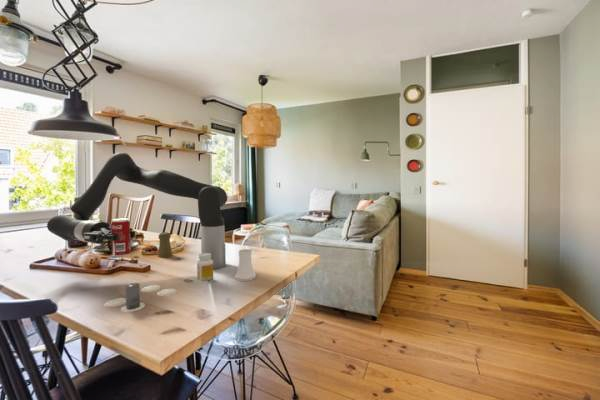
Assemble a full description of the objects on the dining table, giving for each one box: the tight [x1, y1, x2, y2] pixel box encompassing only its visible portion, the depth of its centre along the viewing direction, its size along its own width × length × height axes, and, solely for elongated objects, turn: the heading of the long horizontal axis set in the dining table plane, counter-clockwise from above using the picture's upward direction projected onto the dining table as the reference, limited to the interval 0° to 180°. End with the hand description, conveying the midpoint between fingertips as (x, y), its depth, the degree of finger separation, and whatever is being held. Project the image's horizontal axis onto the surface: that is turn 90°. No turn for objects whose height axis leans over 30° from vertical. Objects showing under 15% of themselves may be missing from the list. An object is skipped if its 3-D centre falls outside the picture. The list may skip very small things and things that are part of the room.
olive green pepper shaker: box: [157, 232, 173, 258], centre depth 131 cm, size 6×6×11 cm
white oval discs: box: [103, 284, 178, 313], centre depth 82 cm, size 22×13×1 cm, turn 157°
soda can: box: [110, 217, 132, 258], centre depth 91 cm, size 5×5×12 cm
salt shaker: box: [234, 248, 257, 282], centre depth 103 cm, size 8×8×10 cm
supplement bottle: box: [196, 252, 214, 284], centre depth 98 cm, size 5×5×10 cm
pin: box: [125, 282, 141, 310], centre depth 75 cm, size 3×3×6 cm
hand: (125, 236), depth 90 cm, fingers closed on soda can, 5 cm apart
